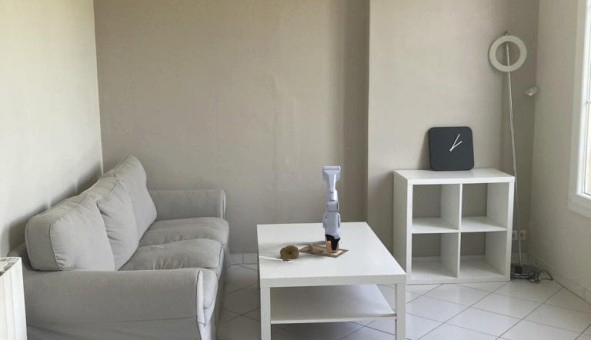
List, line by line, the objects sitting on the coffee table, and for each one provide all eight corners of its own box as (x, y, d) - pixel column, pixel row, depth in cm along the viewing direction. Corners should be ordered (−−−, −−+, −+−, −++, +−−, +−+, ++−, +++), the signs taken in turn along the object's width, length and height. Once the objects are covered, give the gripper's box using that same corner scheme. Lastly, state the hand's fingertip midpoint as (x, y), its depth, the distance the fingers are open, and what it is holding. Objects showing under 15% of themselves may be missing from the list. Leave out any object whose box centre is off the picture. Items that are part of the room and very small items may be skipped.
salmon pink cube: (335, 248, 321) (335, 240, 320) (338, 251, 316) (338, 243, 315) (325, 249, 319) (325, 241, 319) (328, 252, 314) (328, 243, 314)
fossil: (277, 247, 311) (296, 242, 312) (278, 252, 314) (297, 246, 315) (282, 262, 305) (301, 257, 307) (283, 266, 309) (301, 261, 310)
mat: (329, 249, 323) (329, 248, 323) (342, 251, 319) (342, 250, 319) (322, 253, 316) (322, 252, 316) (335, 255, 312) (335, 254, 312)
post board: (309, 246, 334) (309, 238, 333) (349, 251, 322) (349, 243, 321) (295, 253, 320) (295, 245, 319) (335, 259, 308) (335, 251, 307)
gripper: (320, 221, 321) (320, 245, 323) (329, 227, 308) (329, 253, 310) (333, 220, 323) (333, 244, 325) (342, 226, 309) (342, 252, 311)
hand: (332, 248), depth 317 cm, fingers closed on salmon pink cube, 5 cm apart
